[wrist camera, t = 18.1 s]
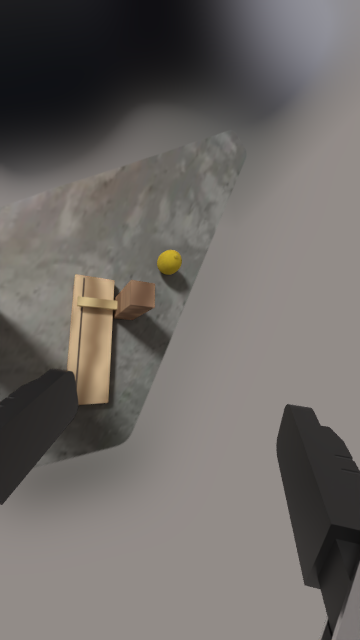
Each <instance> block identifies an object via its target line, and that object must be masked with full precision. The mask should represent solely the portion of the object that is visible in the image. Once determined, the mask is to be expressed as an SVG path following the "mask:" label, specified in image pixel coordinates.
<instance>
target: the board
mask: <svg viewBox="0 0 360 640" xmlns="http://www.w3.org/2000/svg"><path fill="white" fill-rule="evenodd" d="M78 296H80V297H89V298H97V299H106V300H113V299H114V280H109V279H102V278H96V277H90V276H83V275H77V274H75V279H74V291H73V303H72V315H71V327H70V339H69V351H68V363H67V371H72V372H73V373H74V375H75V381H76V389H77V396H78V405H84V404H97V403H108V398H109V379H110V359H111V339H112V319H113V310H110V309H100V308H90V307H80V306H77V300H78Z"/></svg>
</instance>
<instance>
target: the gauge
mask: <svg viewBox="0 0 360 640" xmlns="http://www.w3.org/2000/svg"><path fill="white" fill-rule="evenodd" d="M77 306H80V307H90V308H100V309H110V310H113V319H125V320H134V319H135V318H137V317H139V316H141V315H142V314H144V313H146V312H148V311H149V310H151V309H153V308H155V284H153V283H147V282H141V281H135V280H131V281H130V282H129V283H128V284H127V285H126V286H125V287H124V288H123V290H122V291H121V292H120V293H119V294H118V295H117V296H116V297H115V298H114V300H106V299H97V298H89V297H80V296H78V300H77Z"/></svg>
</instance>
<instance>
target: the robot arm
mask: <svg viewBox="0 0 360 640" xmlns="http://www.w3.org/2000/svg"><path fill="white" fill-rule="evenodd" d="M77 410H78V396H77V389H76V381H75V375H74V373H73V372H72V371H67V370H60V369H50V370H49V371H47V372H46V373H45V374H44V375H42V376H41V377H40V378H38V379H36V380H34V381H32V382H30V383H28V384H25V385H23V386H21V387H20V388H19V389H17V390H16V391H15V392H13V393H12V394H11V395H9V397H8V398H5V399H4V400H3V401H1V402H0V504H1V505H2V504H3V503H4V502H5V501H6V500H7V498H8V497H9V496H10V495H11V493H12V492H13V491H14V490H15V489H16V487H17V486H18V485H19V484H20V483H21V481H22V480H23V479H24V478H25V477H26V475H27V474H28V473H29V472H30V471H31V469H32V468H33V467H34V466H35V465H36V463H37V462H38V461H39V460H40V459H41V457H42V456H43V455H44V454H45V452H46V451H47V450H48V449H49V448H50V446H51V445H52V444H53V443H54V442H55V440H56V439H57V438H58V437H59V436H60V434H61V433H62V432H63V431H64V430H65V428H66V427H67V426H68V425H69V423H70V422H71V421H72V420H73V419H74V417H75V415H76V413H77ZM277 458H278V462H279V467H280V472H281V477H282V481H283V486H284V491H285V495H286V500H287V505H288V509H289V514H290V519H291V524H292V528H293V533H294V538H295V542H296V547H297V552H298V556H299V561H300V565H301V570H302V575H303V580H304V584H305V585H307V586H310V587H314V588H318V589H321V592H322V596H323V600H324V604H325V608H326V612H327V618H326V620H325V623H324V626H323V629H322V632H321V635H320V637H319V640H360V471H359V469H358V467H357V466H356V463H355V462H354V461H353V460H352V456H351V454H350V452H349V450H348V449H347V447H346V445H345V443H344V441H343V440H342V439H341V438H340V437H339V436H338V435H337V434H336V433H335V432H333V430H332V429H331V428H330V427H326V426H321V425H320V423H319V421H318V419H317V417H316V415H315V413H314V411H313V409H312V408H308V407H302V406H296V405H289V404H287V405H286V407H285V409H284V413H283V417H282V421H281V425H280V429H279V433H278V437H277Z"/></svg>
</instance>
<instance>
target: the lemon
mask: <svg viewBox="0 0 360 640" xmlns="http://www.w3.org/2000/svg"><path fill="white" fill-rule="evenodd" d="M181 263H182V259H181V256H180V254H179V253H178V252H176V251H174V250H167V251H165V252H163V253H162V254H161V255H160V256H159V258H158V261H157V266H158V269H159V270H160V271H161V272H162V273H163V274H166V275H170V274H173V273H175V272H176V271H178V270H179V268H180V266H181Z"/></svg>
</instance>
